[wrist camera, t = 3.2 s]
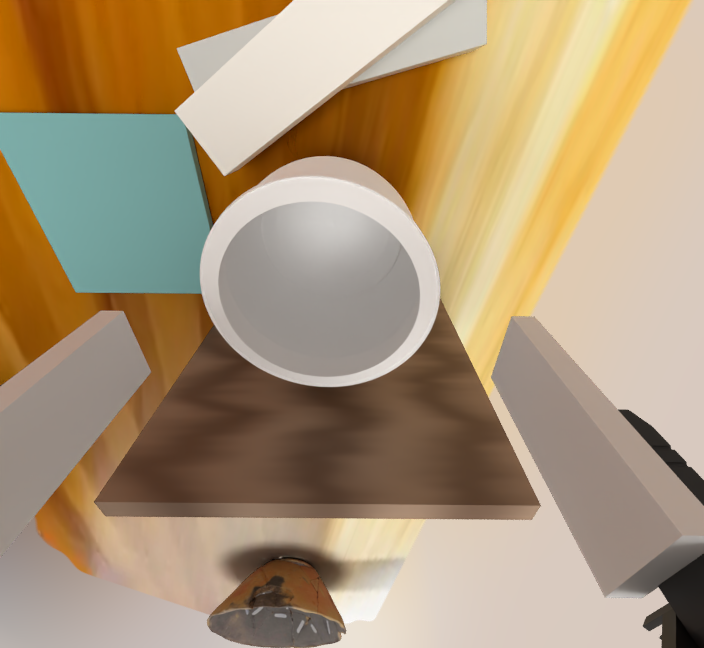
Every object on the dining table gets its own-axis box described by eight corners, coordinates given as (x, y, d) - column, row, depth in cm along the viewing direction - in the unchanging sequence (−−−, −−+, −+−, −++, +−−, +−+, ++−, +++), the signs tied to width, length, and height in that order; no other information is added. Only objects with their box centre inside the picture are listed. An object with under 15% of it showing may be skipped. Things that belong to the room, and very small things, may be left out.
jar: (423, 187, 25) (493, 255, 13) (363, 290, 30) (370, 413, 18) (299, 116, 23) (231, 112, 10) (256, 242, 28) (175, 344, 15)
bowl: (210, 540, 59) (186, 609, 50) (341, 536, 58) (339, 607, 49) (243, 590, 72) (229, 652, 64) (350, 588, 72) (350, 650, 63)
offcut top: (238, 169, 22) (224, 176, 20) (196, 111, 20) (174, 111, 18) (485, -23, 17) (508, -48, 15) (458, -125, 15) (479, -172, 13)
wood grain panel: (250, 348, 34) (151, 571, 17) (238, 289, 30) (93, 502, 13) (426, 350, 34) (496, 573, 17) (436, 290, 30) (540, 505, 13)
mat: (82, 288, 30) (75, 292, 29) (-8, 112, 23) (-19, 112, 22) (228, 289, 30) (225, 293, 29) (187, 114, 23) (182, 114, 22)
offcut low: (223, 124, 23) (208, 125, 21) (197, 56, 21) (176, 48, 19) (471, 52, 21) (486, 43, 19) (469, -33, 19) (486, -55, 16)
